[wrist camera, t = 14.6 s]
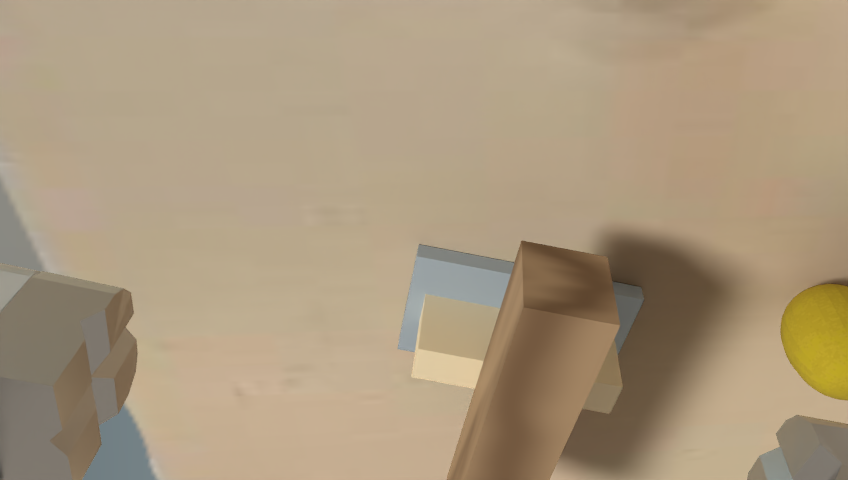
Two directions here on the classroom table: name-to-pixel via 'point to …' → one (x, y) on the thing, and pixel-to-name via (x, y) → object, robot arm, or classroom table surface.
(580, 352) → the walnut bar
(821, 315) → the lemon
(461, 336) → the fulcrum
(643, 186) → the classroom table surface
